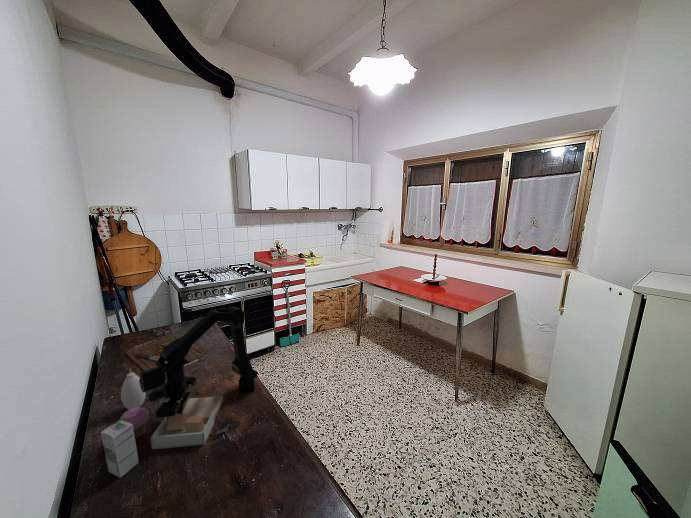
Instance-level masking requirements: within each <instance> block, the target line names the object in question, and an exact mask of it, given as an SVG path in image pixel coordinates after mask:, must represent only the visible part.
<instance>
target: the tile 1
mask: <svg viewBox="0 0 691 518" xmlns="http://www.w3.org/2000/svg"><path fill="white" fill-rule="evenodd" d="M186 418H187V414H185V413H182V414H175V415H174V416H170V417H168V418H167V422H168V424H167V428H166V431H173V430H183V429H184V428H185V421H186Z"/></svg>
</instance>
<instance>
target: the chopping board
mask: <svg viewBox="0 0 691 518" xmlns="http://www.w3.org/2000/svg"><path fill="white" fill-rule="evenodd" d="M169 337H171V338H169ZM173 337H175V338H177V339H179V338H181V336H178V335H169V336H166V337H165V338H163V337H162V338H163V339H160V338H159V339H160V340H157V339H154V340H151V341H148V342H145V343H141V344H139V345H135V346H134V347H132V348H130V349H128V350H126V351H125V355H126V356H128V357H129V359H131V361H133V362H134V363H135V364H136V365H137V366H138V368H140V369H141V370H142V371H143V372H144V371H148V370H150V369H153V368H156V367H157V366H156V363H157V361H158V359H159V358H160V356H161V354H162V349H163V348H164V347H165V346H167V345H168V344H169V343H171V342H172V341H174V340H176V339H174V338H173ZM167 338H168V339H167ZM164 339H165V340H164ZM155 340H157V341H155ZM152 341H154V342H152ZM149 342H150V343H149ZM146 343H147V344H146ZM143 344H144V345H143ZM192 349H193V350H192ZM194 350H195V351H196V352H195V351H194ZM199 353H200V354H199ZM204 355H205V352H204V351H203V350H201V349H200V348H198V347H196V346H195V345H194V344H193V345H192V346H191V348H190V350H189V352H188V354H187V355H186V356H185V357H184V358H186V359H187V360H189V361H190V363H189V364H186V365H184V367H186V366H189V365H190V364H193V363H197V362H198V361H199V359H200V358H202V357H203V356H204ZM201 356H202V357H201ZM199 357H200V358H199ZM164 363H165V364H167V363H168V362H167V361H165V362H164ZM165 375H166V373H165Z"/></svg>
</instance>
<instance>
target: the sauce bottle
mask: <svg viewBox="0 0 691 518" xmlns="http://www.w3.org/2000/svg"><path fill="white" fill-rule="evenodd" d="M139 380H140V376H138V375H137V374H136V373H135V372H132V369H131V368H129V373H128V374H126V377H125V379H124V381H123V383H122V386H121V390H120V399H121V403H122V404H123V406H124V408H125V409H127V410H130V409H132V408H141V407H142V405H143V404H144V402H145V401H146V400H145V399H146V397H147V396H146V393H147V392H145V393H143V392H142V390H141V387H140V384H139Z"/></svg>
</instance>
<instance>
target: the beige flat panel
mask: <svg viewBox="0 0 691 518" xmlns="http://www.w3.org/2000/svg"><path fill="white" fill-rule="evenodd" d="M223 403H224V396H223V395H221V396H220V395H219V396H208V397H207V396H206V397H205V396H204V397H194V398H191V397H189V398H188V400H187V403H186V405H185V408H184V410H183V413H185V414H187V418H186V420H187V419H188V417H189V416H203V422H204V423H207V422H208V420H209V418H210V416H211V414H212V413H213V415H214V421H215V420H216V419H217V416H218V414H219V411H220V410H221V408H222V405H223ZM176 414H177V413H176Z"/></svg>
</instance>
